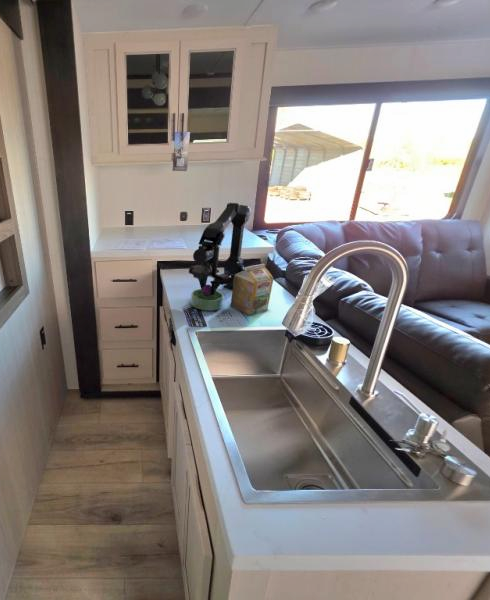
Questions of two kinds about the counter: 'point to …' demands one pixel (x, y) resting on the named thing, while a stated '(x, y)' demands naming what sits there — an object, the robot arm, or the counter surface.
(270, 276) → the milk carton
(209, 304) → the bowl
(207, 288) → the ball
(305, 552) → the counter surface
